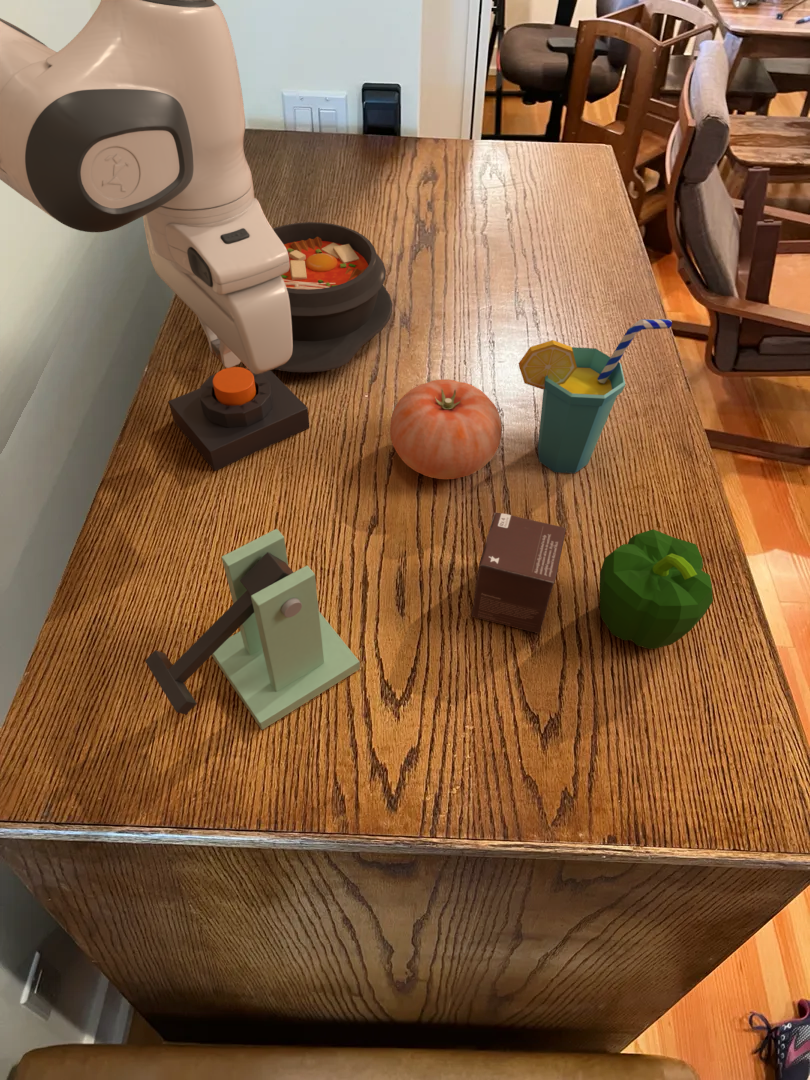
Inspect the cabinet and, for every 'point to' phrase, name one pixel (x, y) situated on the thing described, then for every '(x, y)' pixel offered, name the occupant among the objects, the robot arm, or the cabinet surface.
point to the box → (517, 571)
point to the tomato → (445, 429)
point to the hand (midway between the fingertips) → (226, 358)
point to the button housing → (239, 420)
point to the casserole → (331, 294)
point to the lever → (213, 635)
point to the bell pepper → (653, 589)
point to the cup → (576, 395)
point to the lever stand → (280, 639)
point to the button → (234, 386)
